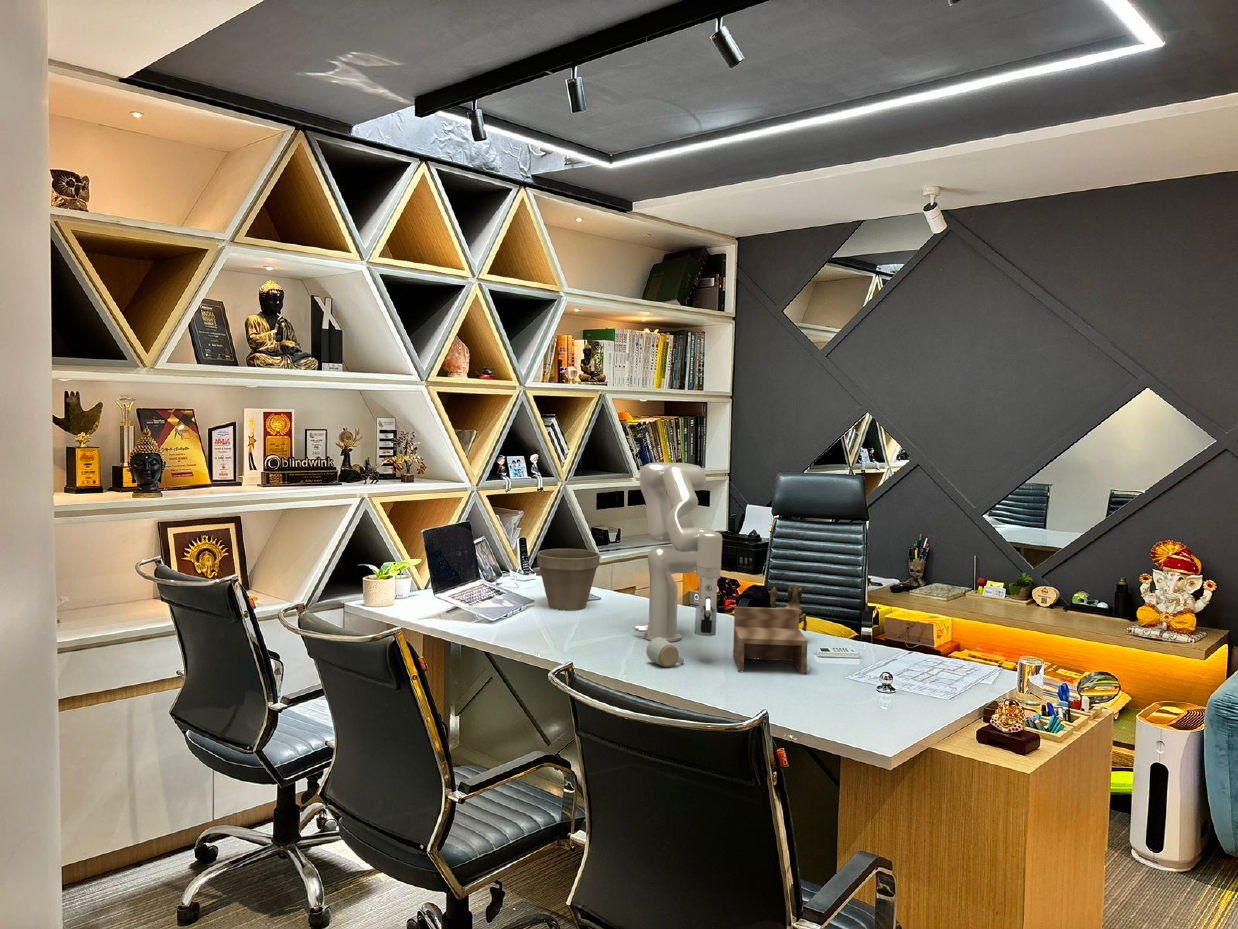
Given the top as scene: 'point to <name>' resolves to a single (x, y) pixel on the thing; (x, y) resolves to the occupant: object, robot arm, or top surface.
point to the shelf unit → (768, 636)
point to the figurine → (791, 601)
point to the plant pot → (567, 576)
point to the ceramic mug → (663, 652)
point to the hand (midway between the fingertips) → (705, 629)
